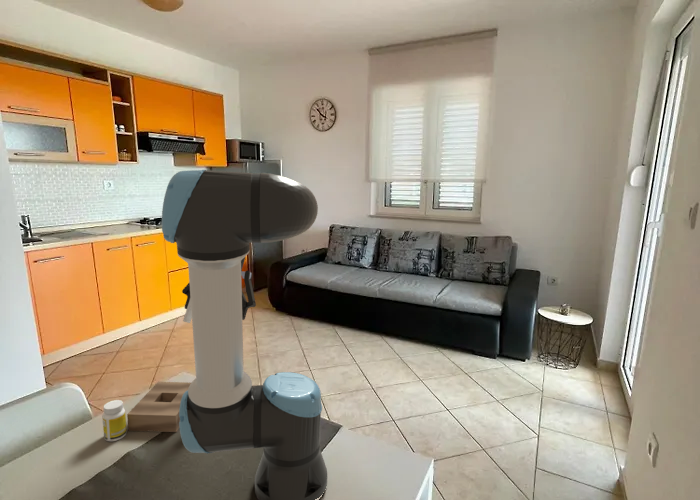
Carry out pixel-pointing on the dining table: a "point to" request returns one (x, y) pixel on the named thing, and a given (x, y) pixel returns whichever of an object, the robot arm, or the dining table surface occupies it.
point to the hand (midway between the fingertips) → (210, 327)
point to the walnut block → (158, 408)
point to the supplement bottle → (114, 421)
